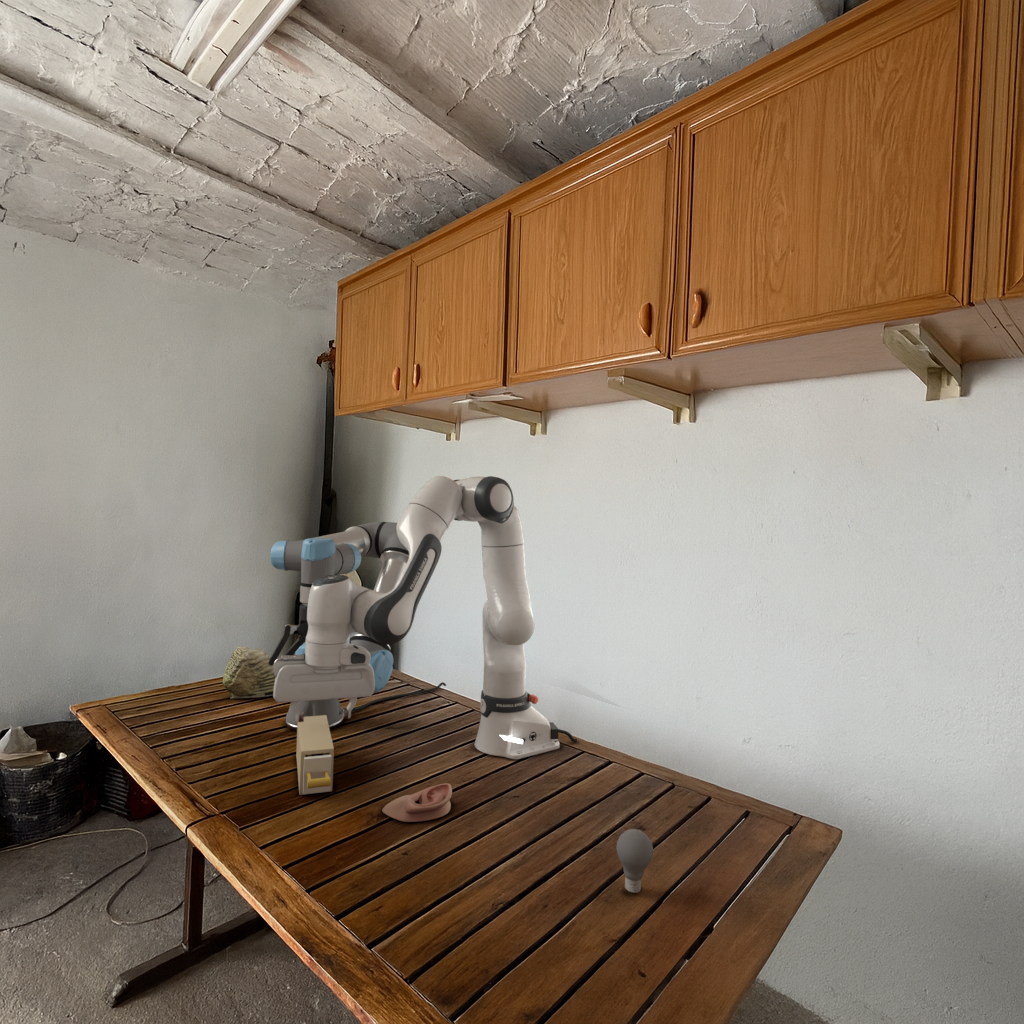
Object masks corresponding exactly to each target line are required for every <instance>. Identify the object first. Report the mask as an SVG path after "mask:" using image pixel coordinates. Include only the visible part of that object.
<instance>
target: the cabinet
mask: <svg viewBox="0 0 1024 1024" xmlns="http://www.w3.org/2000/svg"><path fill="white" fill-rule="evenodd" d="M295 750H296V751H295V752H296V755H295V757H296V766H297V767H296V770H297V782H298V793H299V796H303V795H304V794H303V772H304V757H305V755H310V754H321V753H327V755H331V756H332V760H331V785H330V791H329V792H333V785H334V784H333V783H334V782H333V781H334V780H333V779H334V757H335V747H334V742H333V738H332V734H331V729H329V725H328V720H327V716H326V715H321V716H308V717H304V722H298V724H297V731H296V749H295Z"/></svg>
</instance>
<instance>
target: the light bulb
mask: <svg viewBox="0 0 1024 1024" xmlns="http://www.w3.org/2000/svg"><path fill="white" fill-rule="evenodd" d="M615 849H616V854H617V857H618V859H619V861H620V863H621V865H622V867H623V873H624V874H623V875H624V876H625V878H624V888H625V890H627V891H628V892H630V893H634V894H635V893H639V892H640V891H641V889H642V887H641V886H642V879H643V877H644V875H645V871H646V868H647V867H648V866H649V864H650V863H651V861H652V859H653V855H654V847H653V843H652V841H651V838H649V836H648V835H647V834H646V833H645V832H643V831H642V830H641V829H636V828H629V829H627V830H625V831H623V832H622V833H621V834H620V835H619V837H618V839H617V841H616V847H615Z"/></svg>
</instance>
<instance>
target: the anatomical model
mask: <svg viewBox="0 0 1024 1024" xmlns="http://www.w3.org/2000/svg"><path fill="white" fill-rule="evenodd" d="M452 795H453V788H452V785H451V784H450V783H447V782H445V783H444V782H443V783H440V784H436V785H433V786H429V787H426V788H424V789H422V790H419V791H417V792H415V793H411V794H405V795H402V796H399V797H397V798H395V799H393V800H391V801H390V802H388V803H387V804H386V805H384V806H383V808H382V813H383V814H384V815H386V816H387V817H389V818H392V819H394V820H396V821H400V822H402V823H415V822H425V821H430V820H431V821H432V820H436V819H438V818H442V817H444V816H445V815H447V814H448V813H449V812H450V811H451V808H452V803H451V799H452Z"/></svg>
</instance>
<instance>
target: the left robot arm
mask: <svg viewBox="0 0 1024 1024" xmlns="http://www.w3.org/2000/svg"><path fill="white" fill-rule="evenodd" d="M397 523H398V522H394V521H393V522H391V521H372V522H367V523H363V524H358V525H354V526H350V527H348V528H346V529H345V530H344V531H340V532H336V533H331V534H326V535H325V534H324V535H321V536H316V537H309V538H305V539H300V540H289V539H288V540H278V541H276V542H275V543H273V545H272V547H271V550H270V559H269V560H270V563H271V565H272V567H274V568H275V569H277V570H283V571H285V572H287V571H290V572H291V571H292V572H293V571H294V572H300V587H299V602H300V603H301V604H300V605H299V616H298V623H297V624H290V623H285V625H284V630H283V634H282V636H281V637H280V639H279V641H278V643H277V644H276V646H275V648H274V650H273V652H272V653H271V655H270V656H269V658H270V659H269V665H271V666H272V665H273V664H274V662H275V661H276V660H277V659H278V658H279V656H280V654H281V652H282V650H283V649H284V647H285V645H286V644H287V641H288V640H289V637H290V635H293V634H294V633H295V632H296V631H297V633H298V634H299V636H298V637H297V639H296V640H295V641H294V642H293V644H291V646H290V647H289V648H288V649H287V650H286V651H285V652H284V653H283V655H289V656H290V655H301V654H305V642H306V635H307V633H308V622H307V608H308V599H309V594H310V589H311V587H312V584H313V583H314V581H316V580H317V579H318V578H321V577H324V576H328V575H348V574H350V573H352V572H354V571H357V569H358V568H359V567H360V565H361V562H362V557H365V558H372V559H373V558H374V559H380V561H381V563H382V565H381V569H380V570H379V571H380V572H379V573H378V577H377V579H376V582H375V584H374V585H375V586H374V588H373V590H374V591H377V592H380V593H384V594H385V593H388V592H390V591H391V590H392V589H393V588H394V587H395V585H396V583H397V581H398V579H399V577H400V575H401V574H402V572H403V570H404V568H405V566H406V564H407V562H408V559H409V551H408V550H407V549H406V548H405V547H404V546H403V545H402V543H401V542H400V540H399V538H398V535H397V530H396V526H397ZM349 643H350V644H353V645H357V646H361V647H364V648H365V649H367V650H368V651H369V653H370V655H371V661H370V665H371V666H372V668H373V671H374V678H375V691H374V693H373V694H376V693H379V692H380V691H381V690H383V689H384V688H385V686H386V685H387V684H388V683H389V681H390V678H391V677H392V676H391V675H392V673H393V671H394V666H393V665H394V661H395V660H394V656H393V653H392V652H391V646H390V645H385V644H382V643H379V642H378V641H376V640H374V639H372V638H370V637H368V636H365V635H362V634H359V633H357V632H356V633H355V634H353V635H350V641H349ZM279 661H282V660H279ZM442 686H444V687H446V686H447V684H446V683H445V682H440V683H439V684H438V685H437V686H435V687H432V688H428V689H423V690H417V691H413V692H407V693H400V694H399V693H398V694H395V695H389V696H384V697H381V698H377V699H374V700H371V701H368V702H366V703H364V704H362V705H360V706H357V707H354V708H353V709H352V710H351V712H356V711H359V710H362V709H364V708H366V707H368V706H370V705H374V704H376V703H380V702H383V701H387V700H391V699H397V698H401V697H402V698H403V697H408V696H414V695H415V696H416V695H419V694H426V693H429V692H434V691H437V690H438V689H439V688H440V687H442ZM297 708H298V710H299V711H303V712H304V717H308V716H321V715H326V716H327V720H328V725H329V729H330V730H332V729H335V728H337V727H339V726H340V725H342V723H343V722H344V719H343V717H342V714H343V708H342V706H341V702H340V699H326V700H311V701H299V706H297ZM297 724H298V723H296V714H295V712H294V710H293V708H292V706H291V703H290V704H289V708H288V711H287V713H286V715H285V726H286V728H287V729H289V730H291V731H294V732H295V731H296V732H297Z"/></svg>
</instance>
